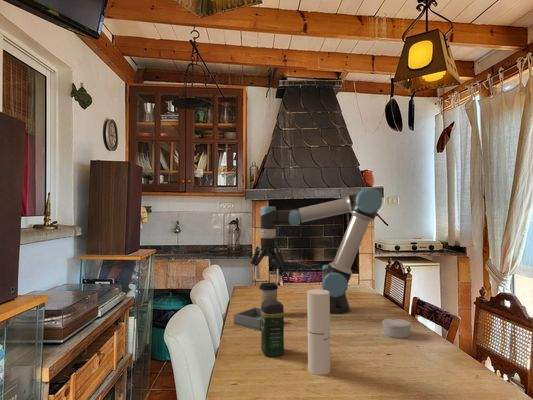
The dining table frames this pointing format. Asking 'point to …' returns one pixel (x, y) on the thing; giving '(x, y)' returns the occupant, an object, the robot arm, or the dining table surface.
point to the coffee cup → (268, 291)
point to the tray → (249, 318)
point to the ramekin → (396, 328)
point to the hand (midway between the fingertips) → (267, 280)
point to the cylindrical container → (318, 331)
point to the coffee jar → (272, 327)
